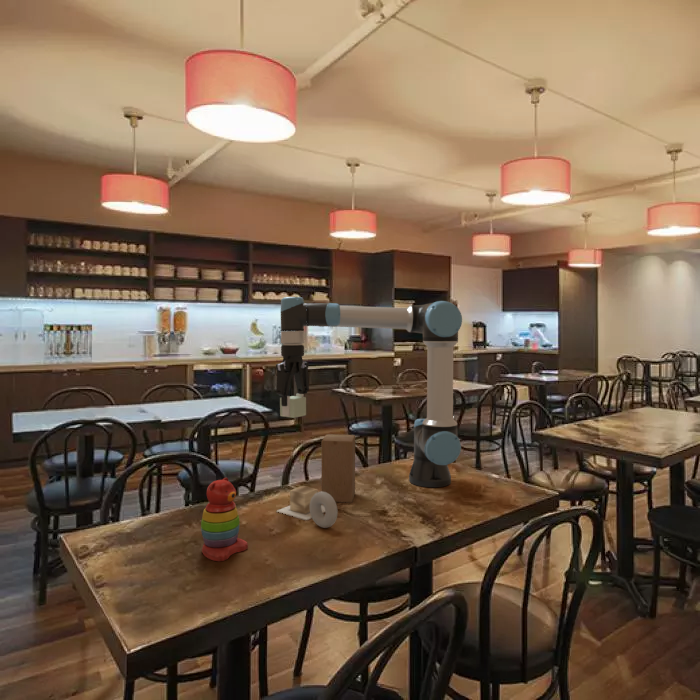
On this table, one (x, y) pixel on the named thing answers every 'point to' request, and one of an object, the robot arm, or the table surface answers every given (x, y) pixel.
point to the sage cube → (296, 407)
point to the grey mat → (297, 513)
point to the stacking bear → (221, 522)
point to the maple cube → (301, 499)
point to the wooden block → (338, 467)
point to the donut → (329, 506)
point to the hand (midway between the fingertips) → (293, 414)
